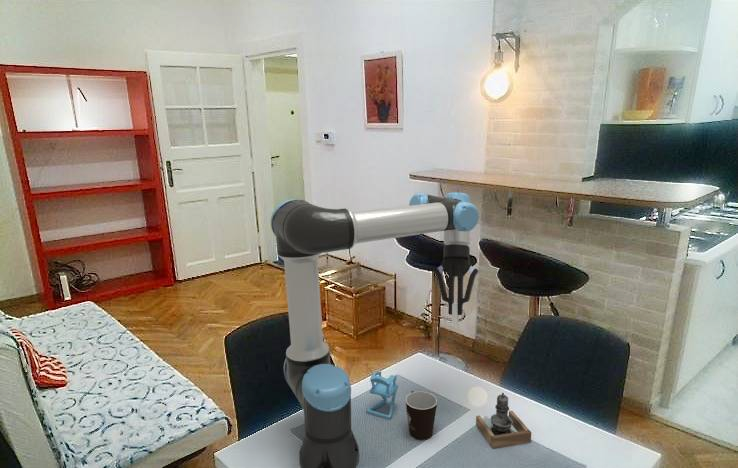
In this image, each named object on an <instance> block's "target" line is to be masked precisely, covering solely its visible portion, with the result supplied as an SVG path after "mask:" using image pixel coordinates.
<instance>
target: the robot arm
mask: <svg viewBox="0 0 738 468" xmlns="http://www.w3.org/2000/svg"><path fill="white" fill-rule="evenodd" d="M270 217H271V218H270V226H271V231H272V233H273V235H274V236H275V242H276V250H277V251H276V253H277V256H278V257H279V258H280V259H281V260H283V263H284V264H283V265H284V275H285V276H284V277H285V286H286V299H287V309H288V310H287V312H288V325H289V335H290V337H289V338H290V345H289V346H288V347H287V348H286V350H285V351H286V352H285V359H284V362H283V374H284V379H285V381H286V383H287V384H288V386H289V387H290V389H291V390H292V393H293V394H294V395H295V397H296V399H297V401H298V402H299V404H300V406H301V407H302V411H303V419H304V422H303V423H304V437H303V440H302V443H301V445H300V449H299V453H298V455H299V456H298V457H299V458H298V459H299V461H298V462H299V467H300V468H356V467H357V466H358V464H359V461H360V449H359V444H358V442H357V439H356V438H355V435H354V432H353V430H352V429H353V428H352V386H351V382H350V381H351V380H350V377H349V374H348V373H347V372H346V370H344V368H342V367H341V366H338V365H336V366H335V365H334V364H333V363H331V356H330V355H331V354H330V346H329V344H327V343H326V341H324V335H323V323H322V322H323V319H322V305H321V304H322V303H321V288H320V274H319V260H318V259H319V257H320V256H321V255H322V254H326V253H327V254H328V253H332V252H333V253H334V252H338V251H345V250H350V249H352V248H353V247H354V246H355V244H356V245H357V244H361V243H368V242H375V241H381V240H390V239H395V238H405V237H411V236H417V235H423V234H424V235H425V234H431V233H437V232H443V244H444V246H443V259H442V262H441V265H440V266H438V267H436V268H434V269H433V271H434V273H435V274H436V276H437V280H438V281H437V282H438V285H439V290H440V294H441V299H442V301H443V302H446V303H447V304H448V315H449V316H451V327H452V328H459V327H460V325H459V321H460V320H459V318H460V316H462V315H463V305H464V304H465V303H468V302H469V301H470V298H471V296H472V295H471V294H472V291H473V288H474V283H475V279H476V277H477V275H478V274H479V269H478V268H475V267H474V266H472V263H471V260H470V258H471V257H470V255H471V254H470V251H471V250H470V249H471V248H470V246H469V245H470V243H471V242H470V240H471V238H470V237H471V233H470V232H471V231H472V230H473V229H475V227H476V226H477V224H478V223H479V219H480V218H479V217H480V216H479V209H478V208H477V206H476V205H474V204H473V203H471V198H470V196H469V194H467V193H464V192H456V191H455V192H450V193H446V195H445V196H444V197H441V196H436V195H432V194H427V193H421V192H420V193H419V192H417V193H415V194H414V195H412V197H411V198H410V200H409V204H408V205H404V206H396V207H395V206H394V207H392V206H391V207H386V208H385V207H384V208H374V209H367V210H358V211H356V210H355V211H351V210H349V208H347V207H346V208H345V207H344V208H327V207H326V208H325V207H321V206H319V205H315V204H312V203H310V202H309V201H307V200H304V199H288V200H284V201H283V202H281V203H279V204H278V205H277V206H276V207H275V208H274V210H273V212H272V213H271V216H270ZM444 271H445V273H446V275H447V276H448V293H447V288H446V285H445V279H444V275H443V274H444ZM468 272H469V274H470V275H469V278H468V282H467V285H466V289H465V293H464V277H465V276H466V275H467V273H468ZM456 277H457V301H456V302H457V303H455V280H456Z"/></svg>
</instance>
